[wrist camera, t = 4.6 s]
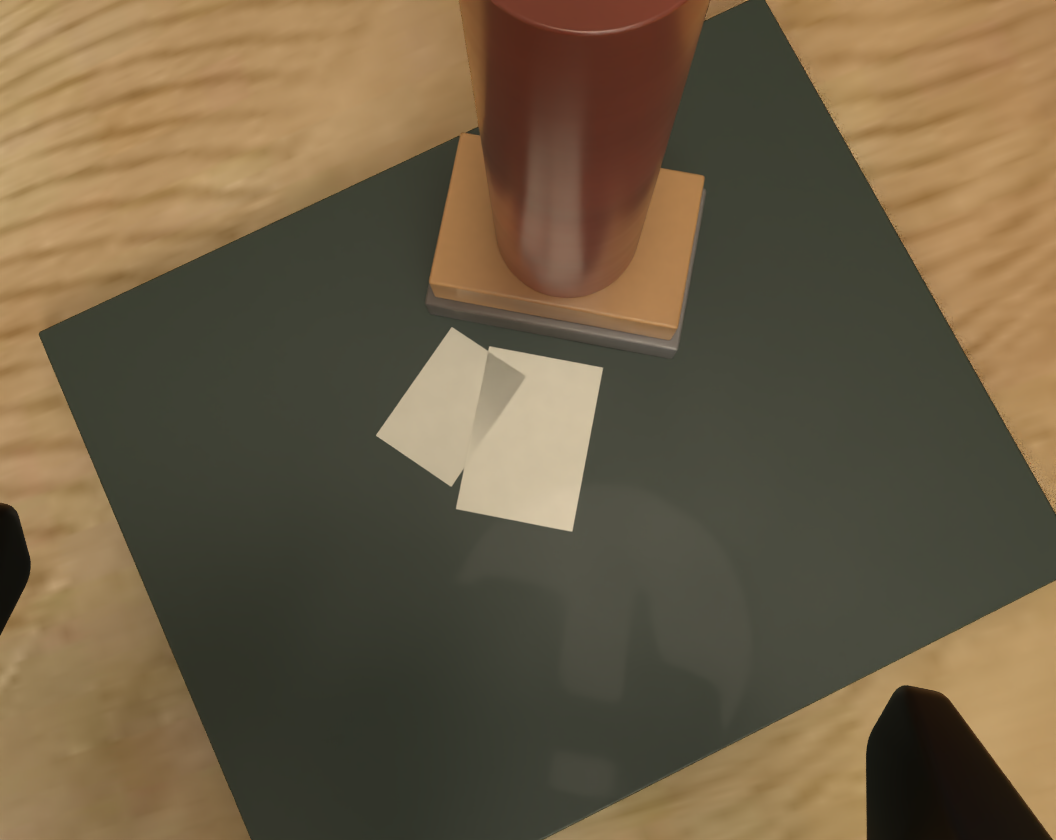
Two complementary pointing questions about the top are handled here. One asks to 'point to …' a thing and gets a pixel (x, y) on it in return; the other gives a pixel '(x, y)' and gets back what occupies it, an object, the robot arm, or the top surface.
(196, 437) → the slate
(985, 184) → the top surface
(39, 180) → the top surface
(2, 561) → the robot arm
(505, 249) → the rubber stamp
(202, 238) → the top surface
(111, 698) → the top surface
